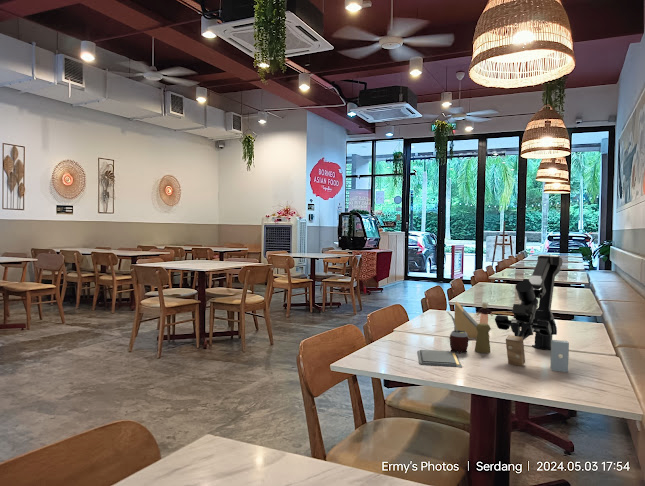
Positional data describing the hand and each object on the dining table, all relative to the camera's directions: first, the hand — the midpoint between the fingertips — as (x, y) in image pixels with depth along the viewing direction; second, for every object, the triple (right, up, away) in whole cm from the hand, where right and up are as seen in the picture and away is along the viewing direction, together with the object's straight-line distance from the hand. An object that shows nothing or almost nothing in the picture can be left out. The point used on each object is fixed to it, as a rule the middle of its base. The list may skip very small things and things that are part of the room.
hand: (516, 343), depth 168 cm
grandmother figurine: (+12, -6, +70) cm, 71 cm away
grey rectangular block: (+12, -8, -6) cm, 16 cm away
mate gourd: (-16, -7, +17) cm, 25 cm away
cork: (-6, -7, +19) cm, 21 cm away
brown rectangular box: (0, -7, +1) cm, 7 cm away
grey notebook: (-26, -8, +6) cm, 28 cm away
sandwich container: (-1, -7, +47) cm, 48 cm away
